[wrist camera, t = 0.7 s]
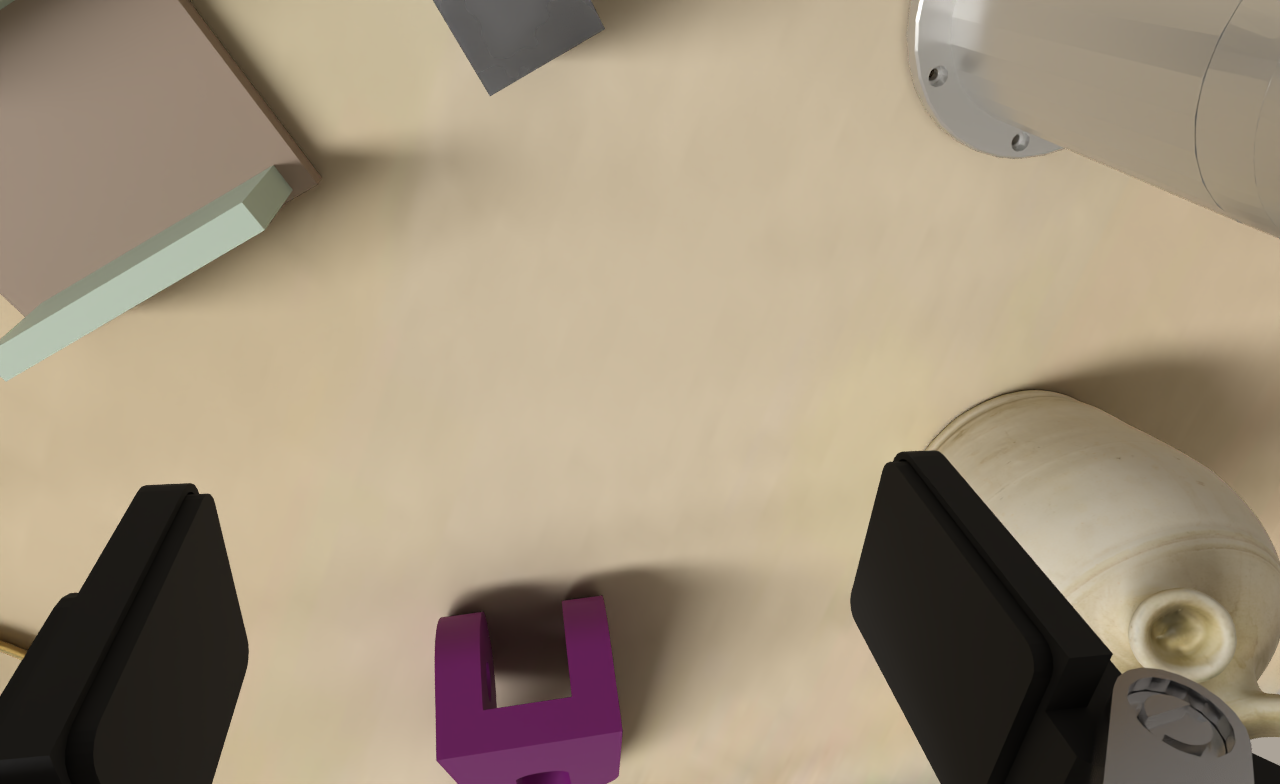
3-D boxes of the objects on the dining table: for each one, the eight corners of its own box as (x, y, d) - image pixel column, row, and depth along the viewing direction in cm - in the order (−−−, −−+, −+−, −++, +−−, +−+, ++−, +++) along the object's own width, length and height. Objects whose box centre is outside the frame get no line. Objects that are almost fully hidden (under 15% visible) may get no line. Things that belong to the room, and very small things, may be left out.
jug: (873, 400, 46) (1201, 830, 25) (1138, 336, 46) (1683, 701, 25) (881, 594, 54) (1134, 1043, 33) (1107, 537, 54) (1501, 942, 33)
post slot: (102, -115, 29) (19, -119, 24) (321, 177, 35) (292, 223, 30) (-199, 84, 31) (-336, 119, 26) (61, 331, 37) (-8, 399, 32)
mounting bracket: (601, 664, 62) (602, 575, 47) (617, 786, 57) (623, 731, 42) (474, 683, 61) (433, 598, 46) (479, 809, 56) (436, 760, 41)
